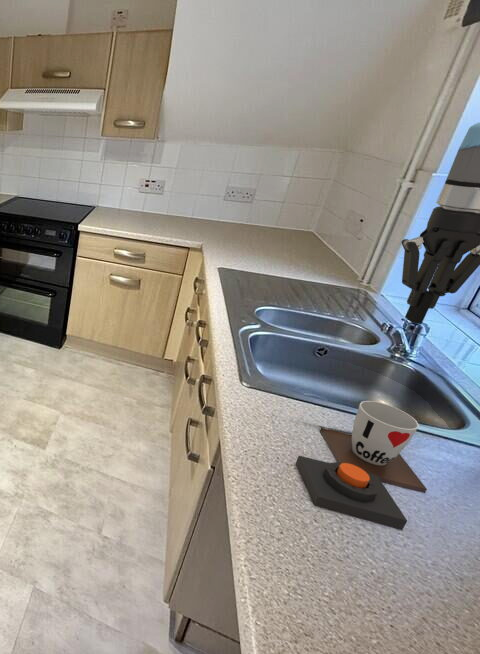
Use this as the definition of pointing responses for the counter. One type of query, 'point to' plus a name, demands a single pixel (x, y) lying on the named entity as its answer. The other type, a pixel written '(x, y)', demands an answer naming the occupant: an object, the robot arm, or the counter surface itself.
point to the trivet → (389, 473)
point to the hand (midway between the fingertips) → (413, 320)
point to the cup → (381, 432)
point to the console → (349, 494)
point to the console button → (353, 475)
